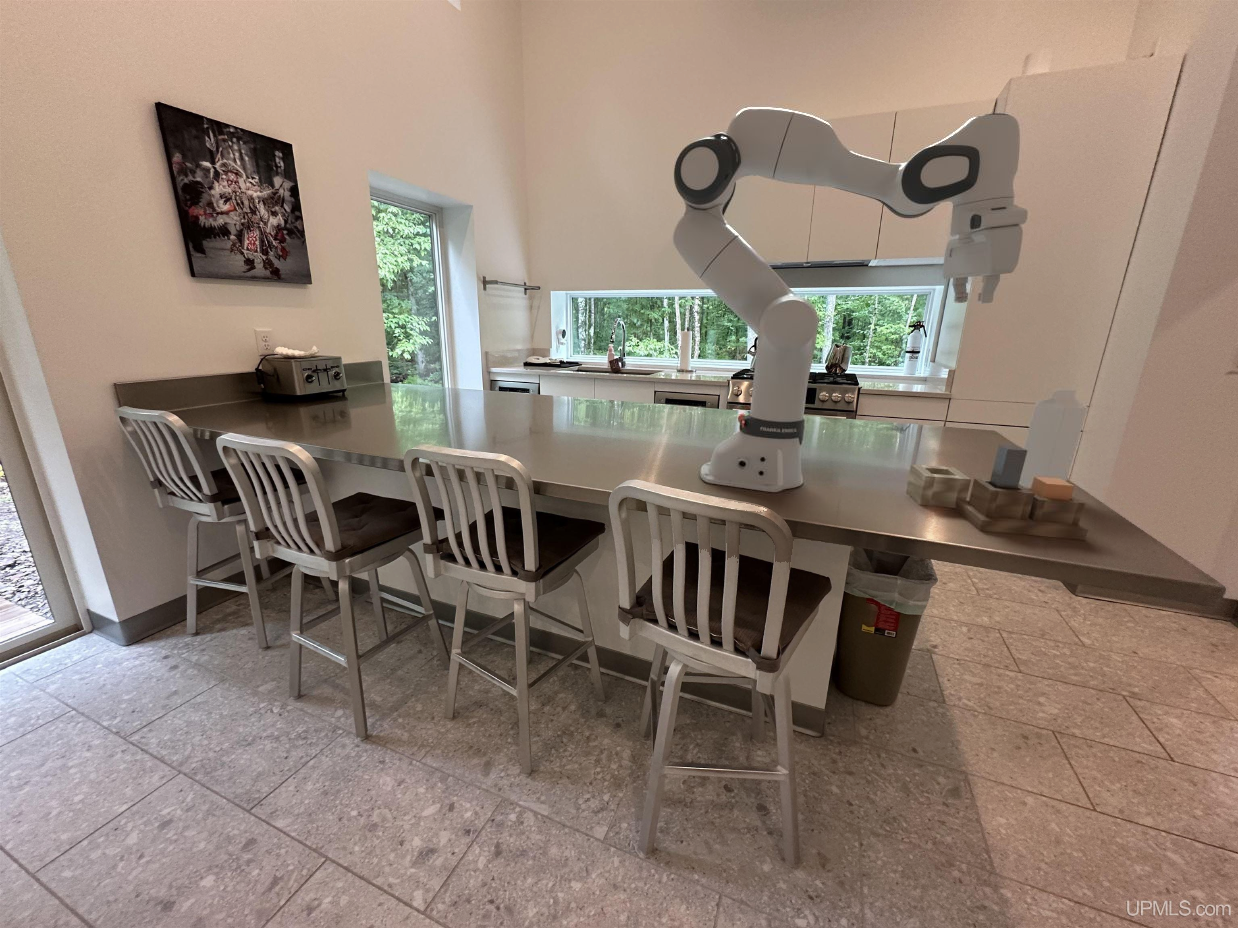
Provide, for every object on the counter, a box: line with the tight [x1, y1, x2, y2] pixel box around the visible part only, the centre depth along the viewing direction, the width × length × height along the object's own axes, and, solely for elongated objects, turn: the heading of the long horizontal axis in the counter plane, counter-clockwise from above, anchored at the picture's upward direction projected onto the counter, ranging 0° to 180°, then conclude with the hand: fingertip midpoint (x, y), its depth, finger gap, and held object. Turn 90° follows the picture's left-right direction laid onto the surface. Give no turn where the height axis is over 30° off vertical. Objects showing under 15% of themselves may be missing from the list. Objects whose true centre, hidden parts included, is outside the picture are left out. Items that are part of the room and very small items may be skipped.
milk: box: [1019, 389, 1088, 488], centre depth 105 cm, size 6×6×22 cm
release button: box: [1030, 477, 1075, 500], centre depth 88 cm, size 4×4×4 cm
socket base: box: [954, 477, 1090, 541], centre depth 90 cm, size 16×10×7 cm, turn 78°
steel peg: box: [989, 444, 1028, 490], centre depth 89 cm, size 3×3×12 cm
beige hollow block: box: [905, 464, 972, 509], centre depth 101 cm, size 8×8×6 cm
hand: (972, 303), depth 93 cm, fingers open, 8 cm apart
